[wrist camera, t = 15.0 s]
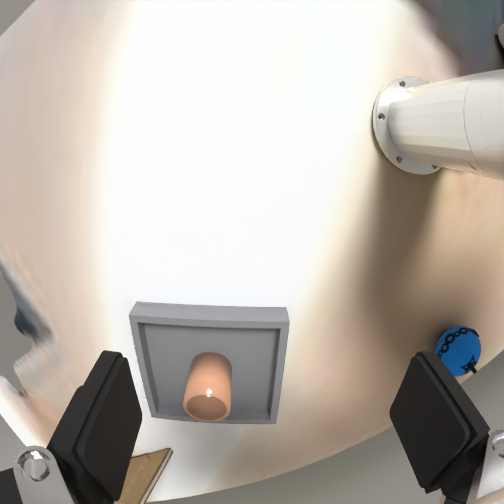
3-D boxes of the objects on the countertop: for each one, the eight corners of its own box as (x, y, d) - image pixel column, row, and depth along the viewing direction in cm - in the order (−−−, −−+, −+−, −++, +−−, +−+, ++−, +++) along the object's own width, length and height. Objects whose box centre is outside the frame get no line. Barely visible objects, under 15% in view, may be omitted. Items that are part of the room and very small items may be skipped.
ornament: (418, 342, 44) (446, 381, 34) (455, 306, 42) (489, 339, 32) (436, 364, 46) (461, 400, 36) (470, 332, 44) (499, 363, 34)
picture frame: (90, 469, 57) (62, 556, 29) (61, 448, 54) (25, 536, 26) (173, 449, 51) (153, 577, 23) (137, 423, 49) (101, 560, 20)
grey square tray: (286, 307, 40) (289, 321, 37) (274, 408, 47) (275, 423, 44) (136, 301, 39) (128, 314, 36) (155, 402, 46) (151, 417, 43)
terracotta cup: (232, 352, 41) (230, 393, 34) (232, 383, 43) (230, 423, 36) (189, 350, 41) (180, 390, 34) (192, 381, 43) (185, 420, 36)
